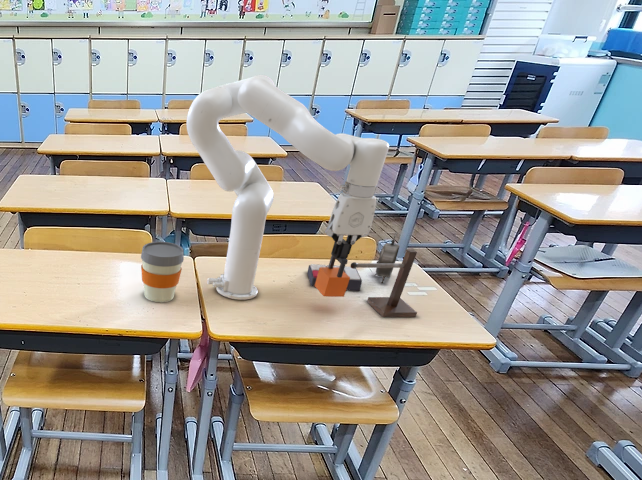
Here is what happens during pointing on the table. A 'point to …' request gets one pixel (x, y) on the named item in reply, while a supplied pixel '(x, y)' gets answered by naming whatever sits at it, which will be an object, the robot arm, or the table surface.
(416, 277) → the table surface
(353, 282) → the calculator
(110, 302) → the table surface
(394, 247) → the alarm clock
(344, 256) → the orange square box
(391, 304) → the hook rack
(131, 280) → the table surface
